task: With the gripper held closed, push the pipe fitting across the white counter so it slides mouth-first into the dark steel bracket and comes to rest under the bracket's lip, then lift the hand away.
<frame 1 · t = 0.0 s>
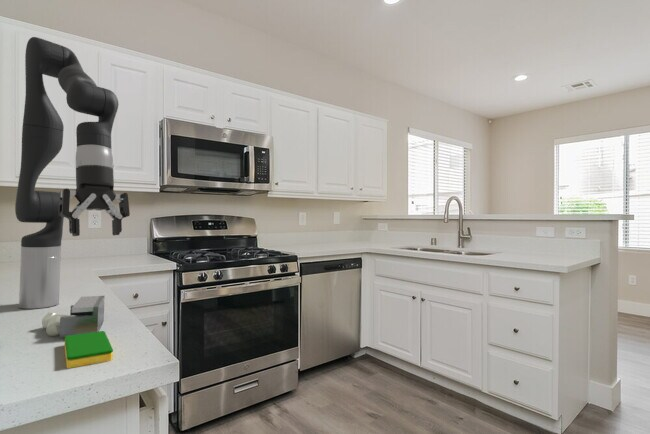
hand: (96, 235, 85), 22 cm above the counter, tool pointing down, fingers open, 8 cm apart
bracket: (83, 329, 86), on the counter
pipe fitting: (56, 333, 84), on the counter
dish sponge: (87, 355, 72), on the counter
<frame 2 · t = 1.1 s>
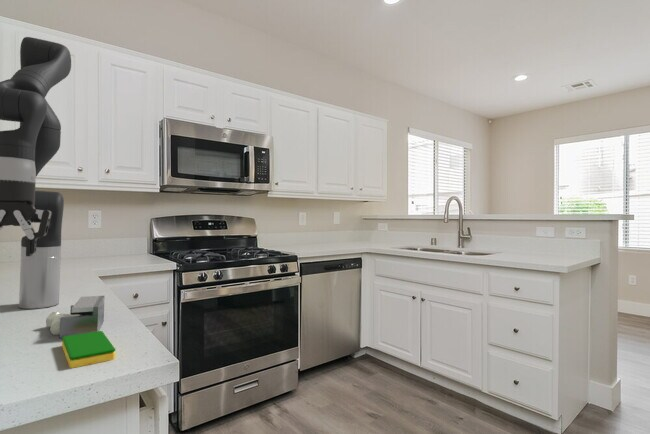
hand: (11, 255, 80), 18 cm above the counter, tool pointing down, fingers open, 5 cm apart
nothing on the counter moved.
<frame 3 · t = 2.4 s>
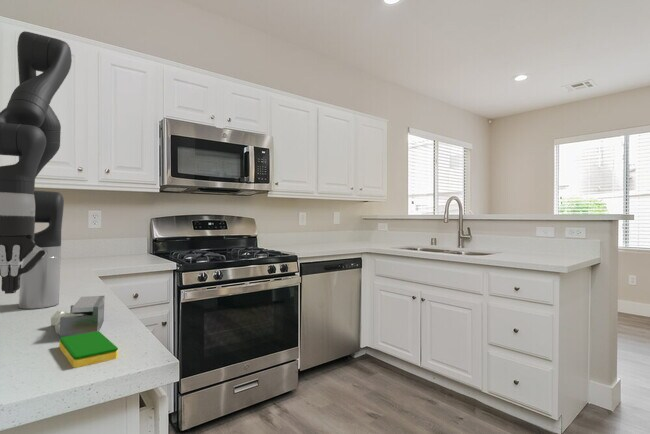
hand: (10, 292, 80), 9 cm above the counter, tool pointing down, fingers closed
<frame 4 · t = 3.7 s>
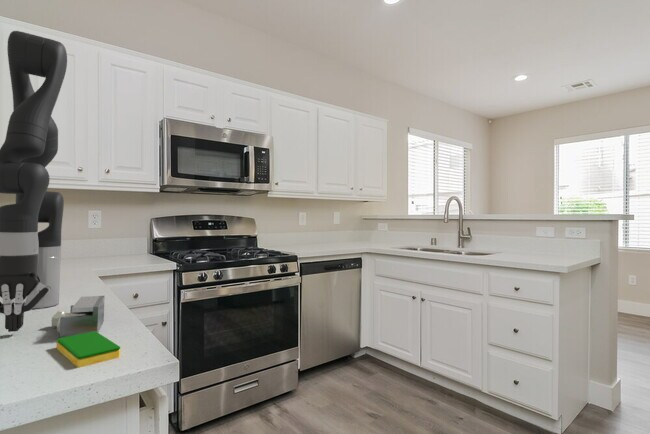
hand: (13, 330, 80), 1 cm above the counter, tool pointing down, fingers closed
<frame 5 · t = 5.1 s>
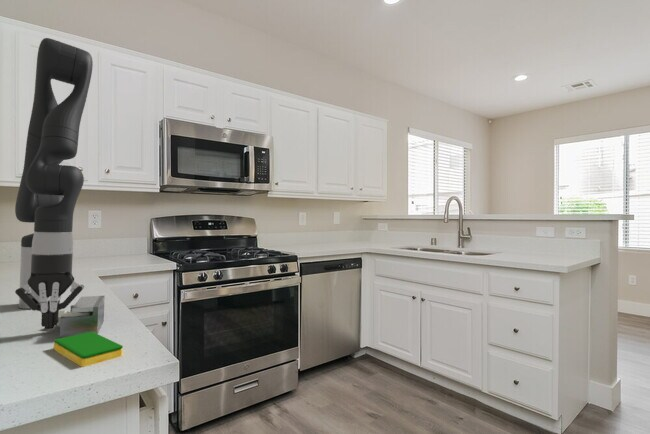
hand: (49, 327, 83), 1 cm above the counter, tool pointing down, fingers closed
pipe fitting: (69, 330, 85), on the counter, touching gripper
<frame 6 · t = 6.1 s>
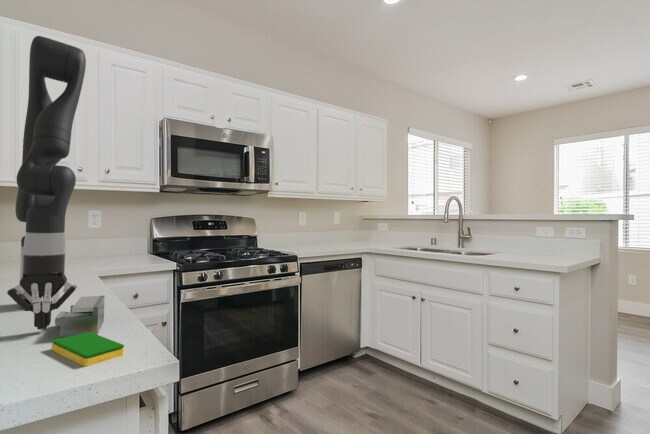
hand: (42, 328, 83), 1 cm above the counter, tool pointing down, fingers closed
pipe fitting: (71, 331, 86), on the counter
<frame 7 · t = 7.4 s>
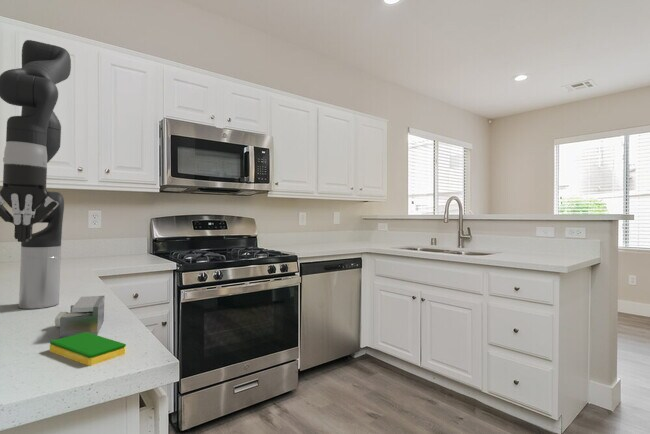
hand: (23, 241, 82), 21 cm above the counter, tool pointing down, fingers closed
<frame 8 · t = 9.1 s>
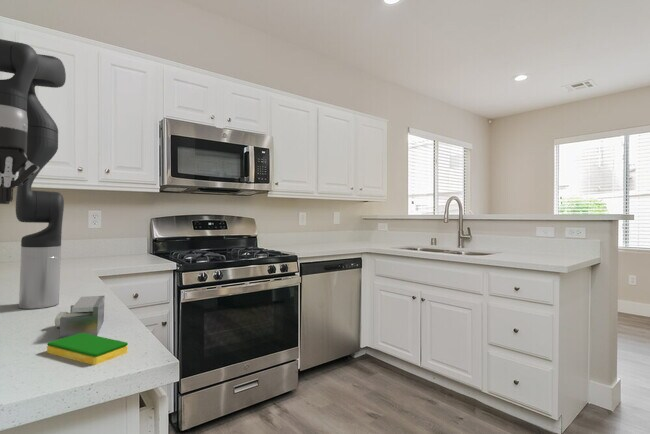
hand: (3, 203, 83), 29 cm above the counter, tool pointing down, fingers closed
at the end: pipe fitting 1.4 cm from the target spot on the bracket, point -0.5 cm above the bracket's base; pipe fitting moved 3.2 cm from its start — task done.
